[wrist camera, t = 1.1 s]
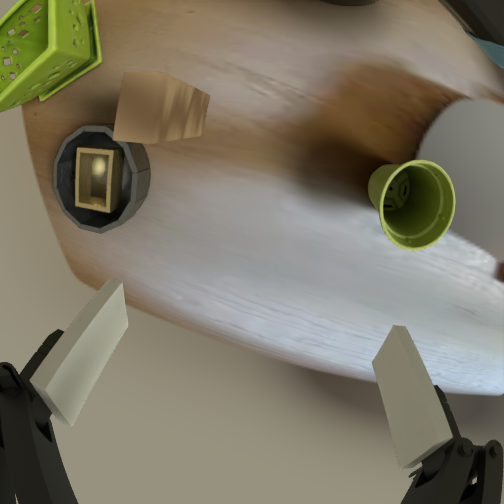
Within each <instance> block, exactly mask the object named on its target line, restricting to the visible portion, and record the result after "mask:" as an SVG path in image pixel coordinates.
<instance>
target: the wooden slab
mask: <svg viewBox="0 0 504 504" xmlns="http://www.w3.org/2000/svg"><path fill="white" fill-rule="evenodd" d="M209 98H210V95H208V94H206V93H204V92H202V91H200V90H198V89H197V88H195V87H193V86H191V85H189V84H187V83H185V82H183V81H181V80H179V79H177V78H174V77H172V76H170V75H168V74H166V73H164V72H124V76H123V80H122V85H121V90H120V95H119V101H118V107H117V113H116V119H115V126H114V134H113V141H125V142H135V143H144V144H154V143H159V142H165V141H171V140H177V139H184V138H191V137H198V136H202V133H203V127H204V122H205V117H206V112H207V108H208V103H209Z"/></svg>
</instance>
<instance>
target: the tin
mask: <svg viewBox="0 0 504 504" xmlns="http://www.w3.org/2000/svg"><path fill="white" fill-rule="evenodd" d="M114 126H115V125H103V124H97V125H85V126H82V127H81V128H79V129H78V130H76V131H75V132H74V133H72V134H71V135H70V136H68V137H67V138H65V140H64V141H63V143H62V145H61V147H60V149H59V152H58V154H57V156H56V158H55V161H54V171H53V188H54V191H55V194H56V197H57V199H58V202H59V204H60V207H61V209H62V211H64V212H63V213H64V214H65V215H66V216H67V217H68V218H69V219H70V220H71V221H72V222H73V223H75V224H76V225H77V226H78V227H79V228H80V229H84V230H88V231H92V232H96V233H100V234H101V233H104V232H106V231H108V230H111V229H113V228H115V227H118V226H120V225H122V224H123V223H125V222H126V221H127V220H129V219H130V218H131V217H133V216H134V214H135V213H136V211H137V210H138V209H139V208H140V206H141V205H142V203H143V202H144V200H145V198H146V197H147V193H148V190H149V185H150V175H151V173H150V164H149V159H148V156H147V153H146V151H145V149H144V147H143V145H142V143H135V142H125V141H113V134H114Z"/></svg>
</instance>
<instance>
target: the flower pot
mask: <svg viewBox="0 0 504 504" xmlns="http://www.w3.org/2000/svg"><path fill="white" fill-rule="evenodd" d="M36 4H39V5H42V7H41V8H40V9H39V10H37V11H31V10H30V9H31V8H32V7H33V6H34V5H36ZM19 16H23V17H22V18H19ZM36 17H40V19H38V20H37V21H35V20H34V19H35V18H36ZM21 22H25V24H24V25H20V23H21ZM11 29H14V30H15V32H13V33H12V34H10V35H9V34H8V31H9V30H11ZM23 30H25V31H28V33H27V34H26V35H24V36H20V35H18V34H19V33H20V32H21V31H23ZM9 43H11V44H9ZM2 48H4V49H5V50H2ZM13 49H15V50H17V51H18V55H17V54H14V53H13ZM6 58H10V61H11V65H4V62H3V59H6ZM102 62H103V58H102V50H101V43H100V36H99V28H98V20H97V11H96V4H95V1H94V0H91V1H89V2H87V3H86V4H84V3H83V1H82V0H19V1H18V2H17V3H16V4H15V5H14V6H13V7H12V8H11V9H10V10H9V11H8V12H7V13H6V14H5V15H4V16H3V17H2V18H1V19H0V112H2V111H6V110H8V109H11V108H14V107H17V106H19V105H22V104H24V103H26V102H28V101H30V100H32V99H33V98H35V97H37V96H38V95H39V99H40V102H42V101H44V100H46V99H47V98H49V97H50V96H52V95H53V94H55V93H56V92H57V91H59V90H60V89H62V88H64V87H65V86H67V85H68V84H70V83H71V82H73V81H74V80H76V79H77V78H79V77H80V76H82V75H83V74H85V73H87V72H88V71H90V70H92V69H93V68H95V67H96V66H98V65H100V64H101V63H102ZM16 65H18V66H19V68H17V67H16ZM10 74H15V76H16V79H15V80H12V79H10ZM2 77H4V80H3V79H2Z"/></svg>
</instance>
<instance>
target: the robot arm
mask: <svg viewBox="0 0 504 504" xmlns="http://www.w3.org/2000/svg"><path fill="white" fill-rule="evenodd" d="M321 1H325V2H328V3H332V4H337V5H344V6H362V5H368V4H371V3H374V2H376V1H378V0H321ZM438 1H439V2H440V3H441V4H442V5H443V6H444V7H445V8H446V9H447V10H448V11H449V12H450V13H451V14H452V16H453V17H454V18H455V19H456V20H457V21H458V22H459V23H460V25H461V26H462V28H463V29H464V31H465V32H466V34H467V35H468V36H470V37H471V38H472V39H474V41H475V42H476V43H477V44H478V45H479V46H480V48H481V49H482V50H483V51H484V53H485V54H486V55H487V56H488V58H489V59H490V60H491V61H492V62H494V63H495V64H496V65H498V66H499V67H501V68H503V69H504V0H438ZM127 327H128V320H127V313H126V306H125V299H124V291H123V283H122V282H121V281H116V280H112V279H108V280H107V281H106V283H105V284H104V285H103V286H102V287H101V288H100V289H99V291H98V292H97V293H96V294H95V295H94V296H93V298H92V299H91V300H90V301H89V302H88V304H87V305H86V306H85V307H84V308H83V310H82V311H81V312H80V313H79V314H78V316H77V317H76V318H75V320H74V321H73V322H72V323H71V325H70V326H69V327H68V328H67V330H66V331H65V332H64V331H62V330H59V329H58V330H56V331H55V332H53V333H52V334H50V335H49V336H48V337H47V338H46V340H45V341H44V342H43V345H41V346H40V348H39V349H38V351H37V352H35V354H34V355H33V357H32V358H31V359H30V361H29V362H28V363H27V365H26V366H25V368H24V369H23V370H22V372H21V373H20V374H18V372H17V371H16V369H15V368H14V366H12V364H10V363H8V362H1V363H0V504H16V498H15V494H16V497H17V500H18V503H19V504H78V502H77V499H76V498H75V495H74V492H73V490H72V487H71V485H70V482H69V480H68V477H67V474H66V471H65V469H64V466H63V462H62V459H61V457H60V453H59V450H58V446H57V443H56V439H55V435H54V431H53V427H52V423H51V420H50V416H51V414H53V415H54V416H55V418H56V419H57V420H58V421H61V422H62V423H64V424H66V425H68V426H70V427H73V425H74V423H75V420H76V419H77V417H78V415H79V413H80V410H81V409H82V407H83V405H84V403H85V401H86V399H87V397H88V395H89V393H90V392H91V390H92V388H93V386H94V384H95V382H96V380H97V379H98V377H99V375H100V373H101V371H102V370H103V368H104V366H105V364H106V363H107V361H108V359H109V357H110V356H111V354H112V352H113V350H114V348H115V347H116V345H117V344H118V342H119V340H120V339H121V337H122V335H123V334H124V332H125V330H126V329H127ZM372 365H373V369H374V372H375V375H376V379H377V382H378V385H379V389H380V392H381V396H382V399H383V403H384V407H385V411H386V414H387V418H388V422H389V426H390V430H391V434H392V439H393V443H394V448H395V452H396V457H397V461H398V465H399V470H403V469H407V468H412V467H414V466H416V465H417V464H418V463H420V462H422V467H420V468H419V469H417V470H416V471H414V472H412V473H411V474H410V475H409V478H410V477H412V476H414V475H415V474H416V476H415V477H414V478H413V482H412V484H411V486H410V488H409V489H408V491H407V493H406V495H405V497H404V498H403V500H402V502H401V504H500V502H501V492H502V480H503V449H502V446H501V444H500V443H499V442H498V441H496V440H491V441H489V442H488V443H487V444H486V445H484V446H475V445H473V444H472V442H471V441H470V440H469V439H467V438H464V437H463V438H462V437H461V435H460V433H459V430H458V427H457V425H456V422H455V419H454V417H453V414H452V412H451V411H450V407H449V404H447V399H446V397H445V395H444V393H443V391H442V390H441V389H440V388H439V387H438V385H433V384H432V381H431V379H430V377H429V374H428V372H427V370H426V368H425V365H424V363H423V361H422V359H421V357H420V355H419V352H418V350H417V348H416V346H415V344H414V342H413V340H412V338H411V336H410V334H409V332H408V330H407V328H406V326H396V325H393V327H392V329H391V331H390V333H389V334H388V336H387V338H386V340H385V341H384V343H383V345H382V347H381V348H380V350H379V352H378V353H377V355H376V357H375V358H374V360H373V362H372ZM476 477H477V482H476V483H475V484H472V480H473V479H474V478H476Z"/></svg>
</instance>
